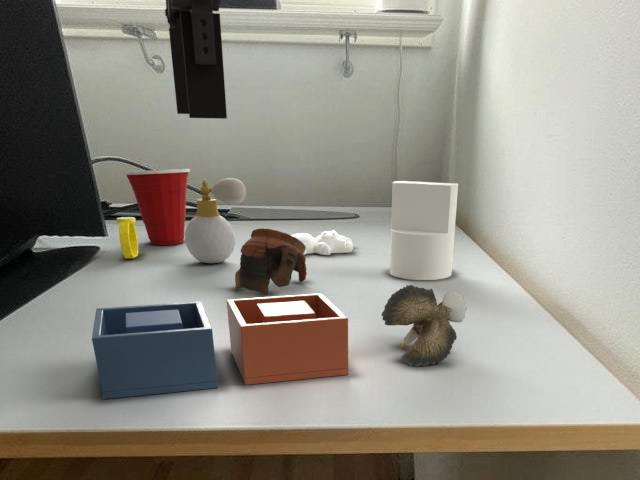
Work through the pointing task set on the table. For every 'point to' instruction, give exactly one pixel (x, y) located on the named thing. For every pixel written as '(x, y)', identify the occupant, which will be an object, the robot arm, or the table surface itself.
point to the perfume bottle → (213, 222)
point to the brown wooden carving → (270, 260)
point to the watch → (128, 236)
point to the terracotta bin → (288, 341)
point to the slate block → (153, 321)
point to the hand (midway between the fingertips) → (199, 116)
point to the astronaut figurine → (325, 243)
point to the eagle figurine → (425, 322)
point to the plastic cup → (161, 203)
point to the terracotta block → (284, 311)
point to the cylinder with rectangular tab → (422, 229)
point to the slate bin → (154, 353)
